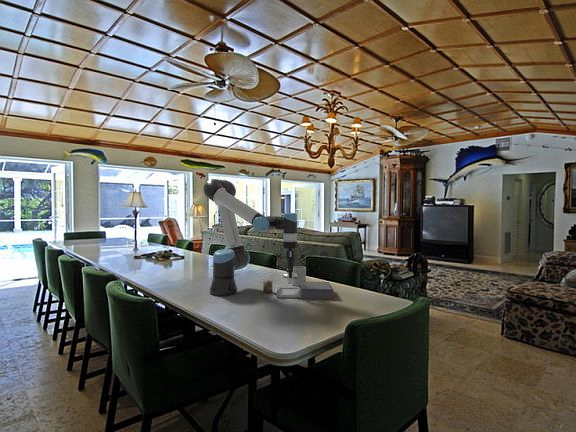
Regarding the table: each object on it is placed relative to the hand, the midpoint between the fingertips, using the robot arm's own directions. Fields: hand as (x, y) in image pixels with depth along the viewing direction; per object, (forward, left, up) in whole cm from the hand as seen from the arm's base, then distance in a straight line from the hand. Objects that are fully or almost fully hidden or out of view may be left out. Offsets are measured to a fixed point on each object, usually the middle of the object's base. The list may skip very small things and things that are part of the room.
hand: (290, 282), depth 189 cm
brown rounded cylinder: (-12, +4, -7) cm, 15 cm away
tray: (+2, 0, -7) cm, 7 cm away
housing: (+14, 0, -7) cm, 16 cm away
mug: (+5, +23, -7) cm, 25 cm away
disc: (0, 0, +3) cm, 3 cm away
